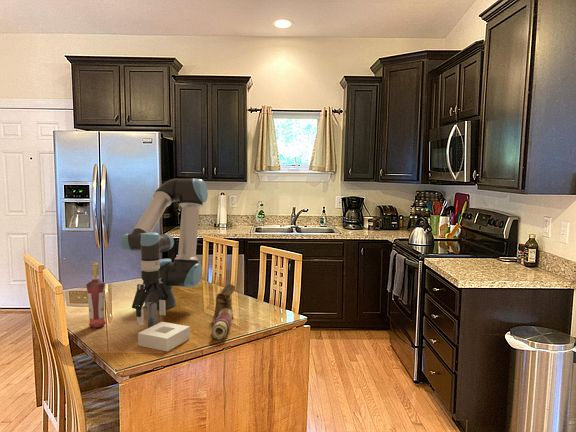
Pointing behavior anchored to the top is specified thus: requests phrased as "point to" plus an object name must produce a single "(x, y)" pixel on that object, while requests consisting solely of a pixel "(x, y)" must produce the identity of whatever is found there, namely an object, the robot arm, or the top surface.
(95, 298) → the liquor
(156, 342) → the socket
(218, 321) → the scroll
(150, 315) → the peg
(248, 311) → the top surface
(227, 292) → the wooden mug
